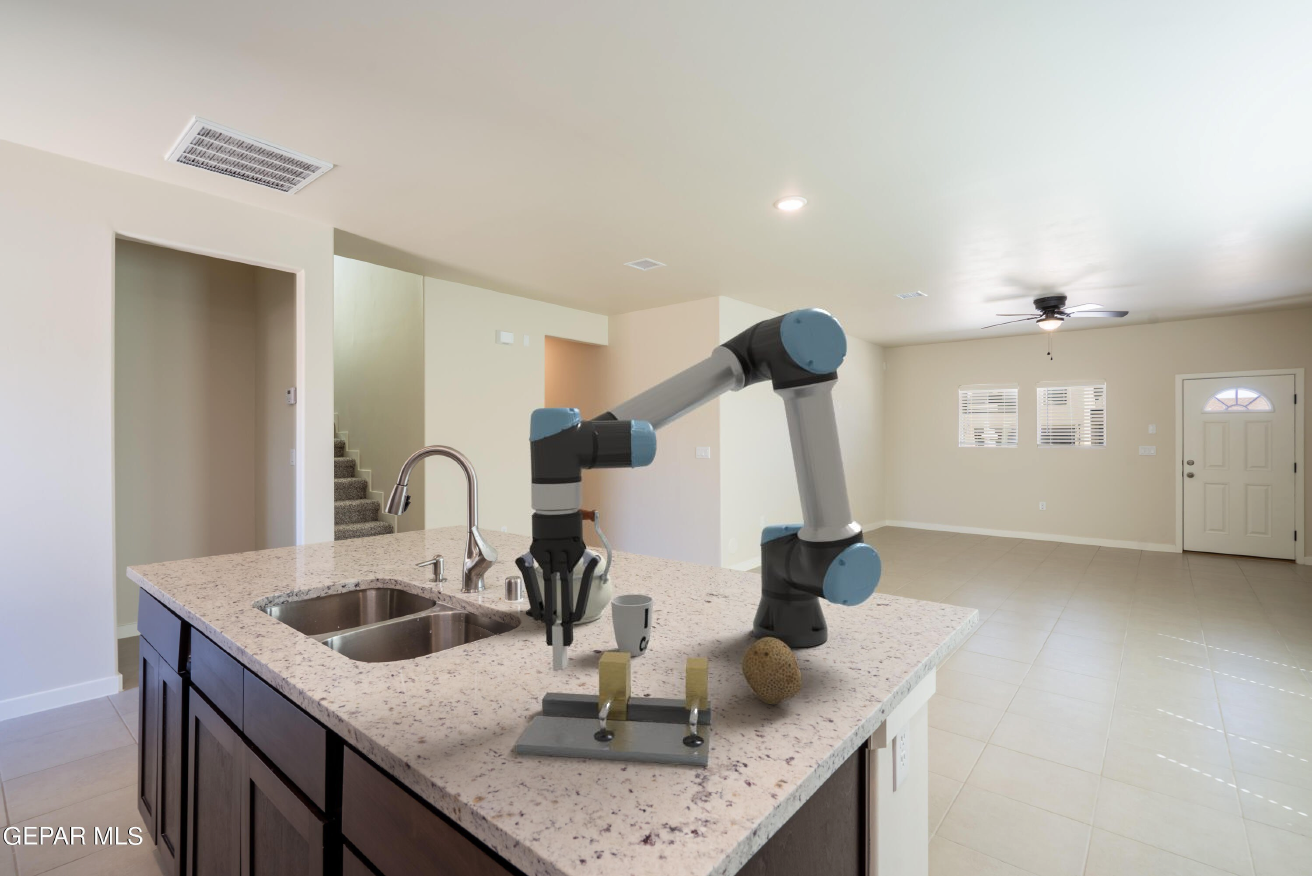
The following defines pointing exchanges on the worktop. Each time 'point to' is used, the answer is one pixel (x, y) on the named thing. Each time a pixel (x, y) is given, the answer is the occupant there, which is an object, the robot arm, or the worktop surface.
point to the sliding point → (614, 687)
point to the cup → (632, 622)
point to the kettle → (600, 582)
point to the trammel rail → (645, 702)
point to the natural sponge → (771, 670)
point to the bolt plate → (616, 740)
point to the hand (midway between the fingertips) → (560, 666)
